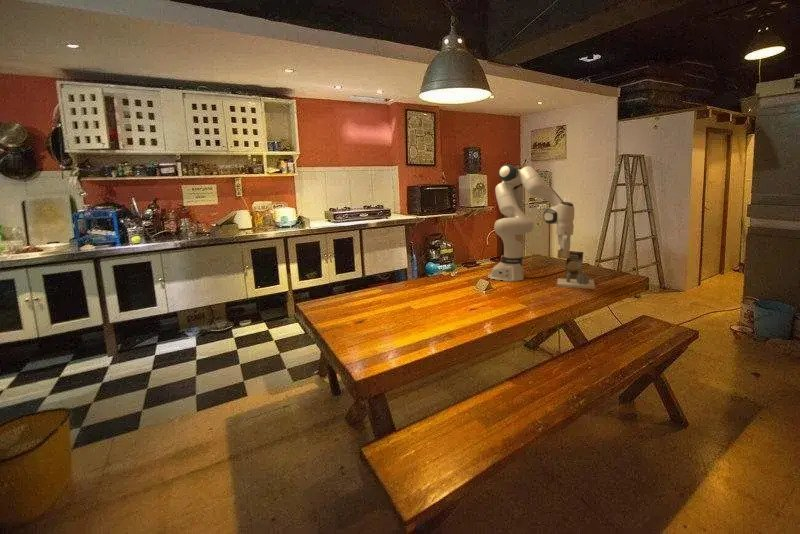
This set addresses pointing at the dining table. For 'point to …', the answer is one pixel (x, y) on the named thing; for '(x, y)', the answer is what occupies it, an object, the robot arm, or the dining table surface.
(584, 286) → the gear board
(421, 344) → the dining table surface
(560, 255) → the brass gear
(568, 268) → the coffee box
